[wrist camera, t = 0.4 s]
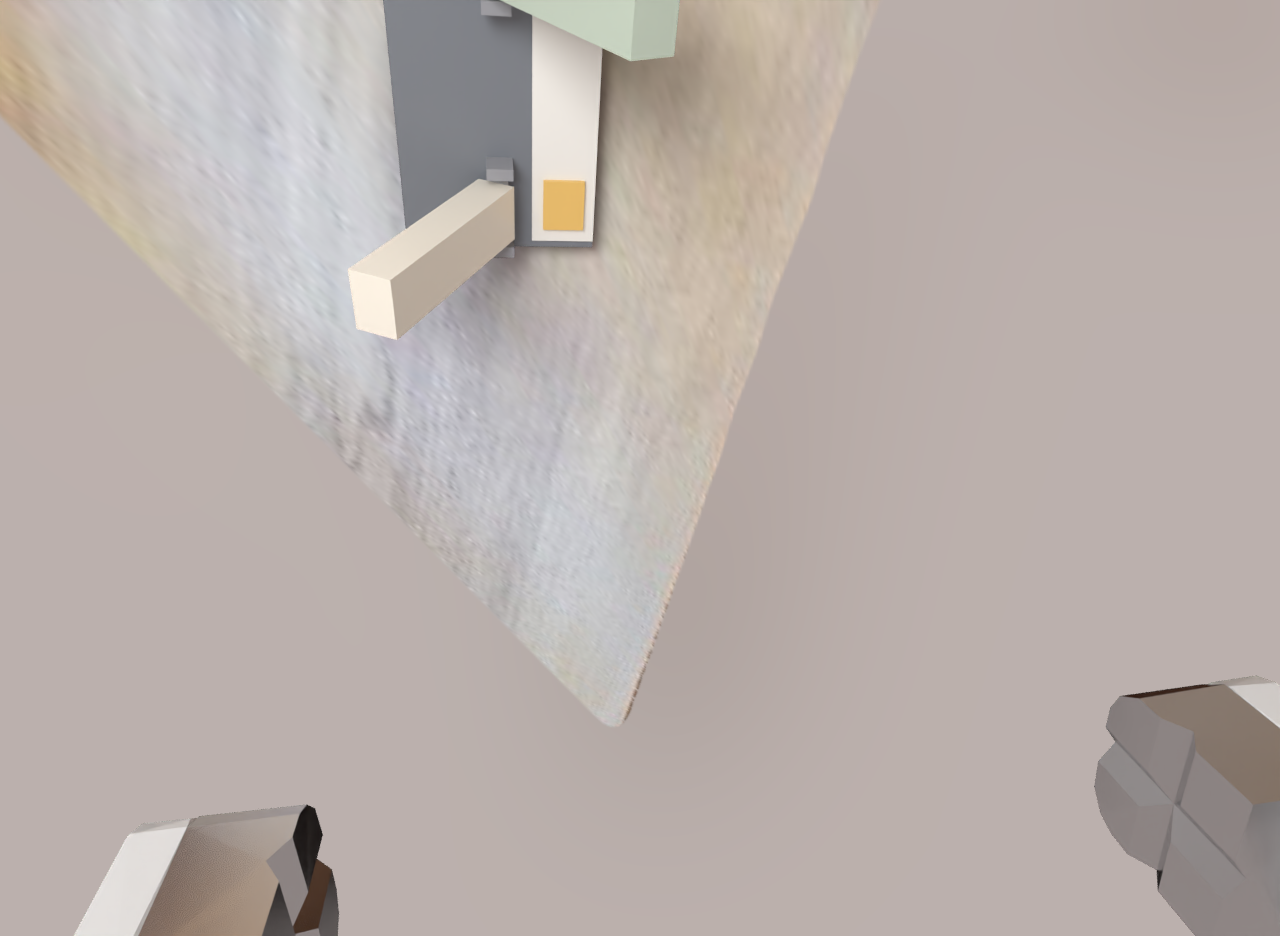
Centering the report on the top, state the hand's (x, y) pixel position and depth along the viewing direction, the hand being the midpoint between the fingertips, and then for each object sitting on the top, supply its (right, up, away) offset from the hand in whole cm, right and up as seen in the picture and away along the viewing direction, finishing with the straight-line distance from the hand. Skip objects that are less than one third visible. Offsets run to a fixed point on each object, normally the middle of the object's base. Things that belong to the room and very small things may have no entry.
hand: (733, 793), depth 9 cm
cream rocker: (-10, +20, +45) cm, 50 cm away
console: (-9, +27, +42) cm, 51 cm away
